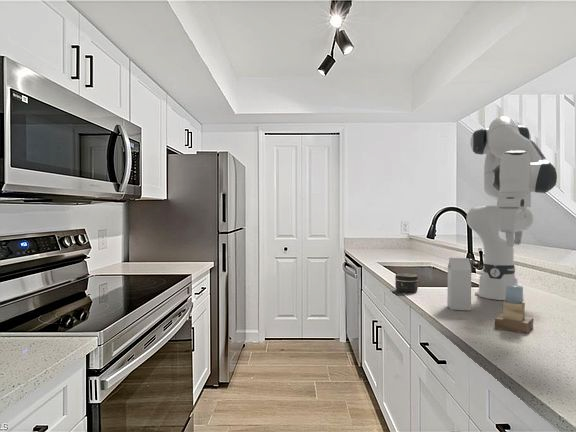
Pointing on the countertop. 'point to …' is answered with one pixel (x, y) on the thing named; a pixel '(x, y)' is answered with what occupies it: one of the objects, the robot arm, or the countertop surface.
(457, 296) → the milk carton
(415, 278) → the jar
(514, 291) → the ceramic cylinder
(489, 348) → the countertop surface
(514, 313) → the oak cube
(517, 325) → the walnut pedestal
